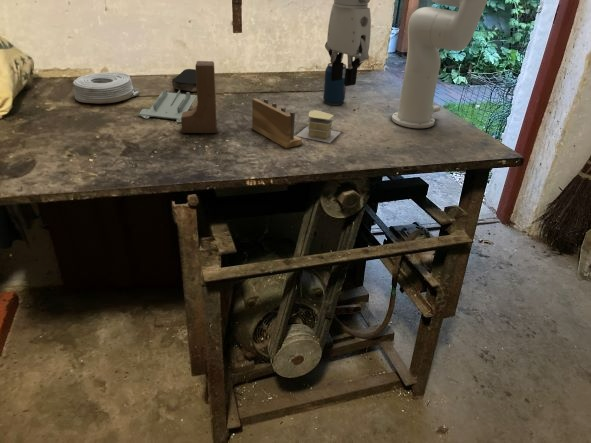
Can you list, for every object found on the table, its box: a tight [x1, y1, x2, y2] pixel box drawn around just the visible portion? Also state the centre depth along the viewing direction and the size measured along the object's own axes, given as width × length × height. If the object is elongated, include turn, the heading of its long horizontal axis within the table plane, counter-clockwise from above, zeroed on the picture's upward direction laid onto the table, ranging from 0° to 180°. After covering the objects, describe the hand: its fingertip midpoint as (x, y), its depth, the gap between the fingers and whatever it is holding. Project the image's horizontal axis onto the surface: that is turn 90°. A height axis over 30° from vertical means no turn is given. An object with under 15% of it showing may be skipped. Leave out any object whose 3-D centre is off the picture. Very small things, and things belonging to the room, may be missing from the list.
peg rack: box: [251, 97, 303, 149], centre depth 127 cm, size 5×16×8 cm, turn 37°
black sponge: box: [171, 68, 197, 93], centre depth 165 cm, size 16×8×4 cm, turn 172°
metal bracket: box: [138, 89, 197, 124], centre depth 141 cm, size 14×6×15 cm
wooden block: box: [180, 60, 218, 134], centre depth 126 cm, size 9×4×18 cm, turn 96°
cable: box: [72, 71, 140, 104], centre depth 149 cm, size 18×18×6 cm
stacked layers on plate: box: [295, 109, 341, 144], centre depth 131 cm, size 10×9×6 cm
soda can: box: [322, 62, 347, 106], centre depth 154 cm, size 7×7×12 cm
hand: (343, 81), depth 115 cm, fingers open, 4 cm apart
